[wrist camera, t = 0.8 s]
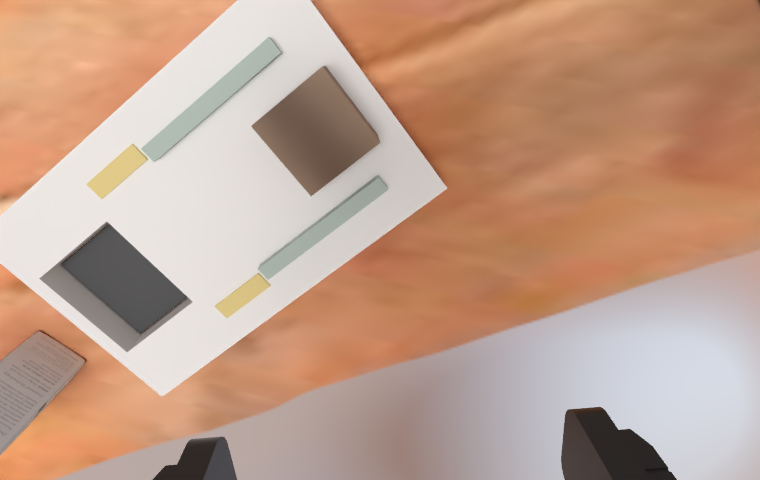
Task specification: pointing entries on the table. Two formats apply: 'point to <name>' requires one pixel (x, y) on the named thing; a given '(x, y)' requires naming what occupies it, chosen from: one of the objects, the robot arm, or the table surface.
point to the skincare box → (32, 382)
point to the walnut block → (317, 131)
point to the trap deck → (208, 199)
